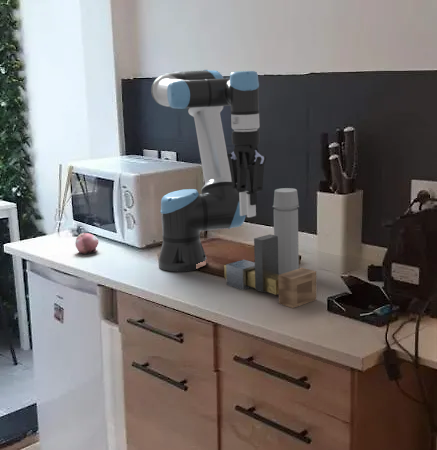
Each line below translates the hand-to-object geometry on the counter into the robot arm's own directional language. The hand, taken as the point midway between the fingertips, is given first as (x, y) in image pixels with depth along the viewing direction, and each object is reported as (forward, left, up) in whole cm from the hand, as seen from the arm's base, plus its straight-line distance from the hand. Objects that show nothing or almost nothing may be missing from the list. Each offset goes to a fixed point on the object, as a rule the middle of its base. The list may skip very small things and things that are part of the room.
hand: (247, 215), depth 198 cm
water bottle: (-2, +17, -21) cm, 27 cm away
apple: (-67, -13, -21) cm, 71 cm away
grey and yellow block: (+2, 0, -19) cm, 20 cm away
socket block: (+19, 0, -20) cm, 28 cm away
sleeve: (-2, 0, -20) cm, 21 cm away
